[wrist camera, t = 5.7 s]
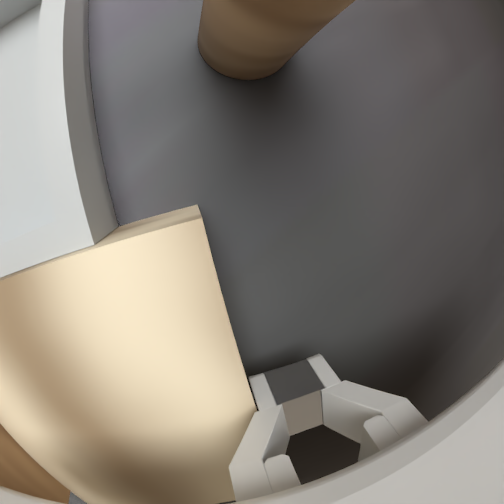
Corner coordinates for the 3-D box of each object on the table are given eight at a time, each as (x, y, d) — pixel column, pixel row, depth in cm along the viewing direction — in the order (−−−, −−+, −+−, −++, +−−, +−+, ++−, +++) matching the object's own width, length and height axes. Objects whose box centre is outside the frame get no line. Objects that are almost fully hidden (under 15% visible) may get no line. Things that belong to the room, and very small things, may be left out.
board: (197, 204, 8) (202, 217, 5) (267, 443, 12) (284, 487, 9) (-27, 279, 7) (-68, 309, 4) (98, 467, 10) (93, 507, 8)
